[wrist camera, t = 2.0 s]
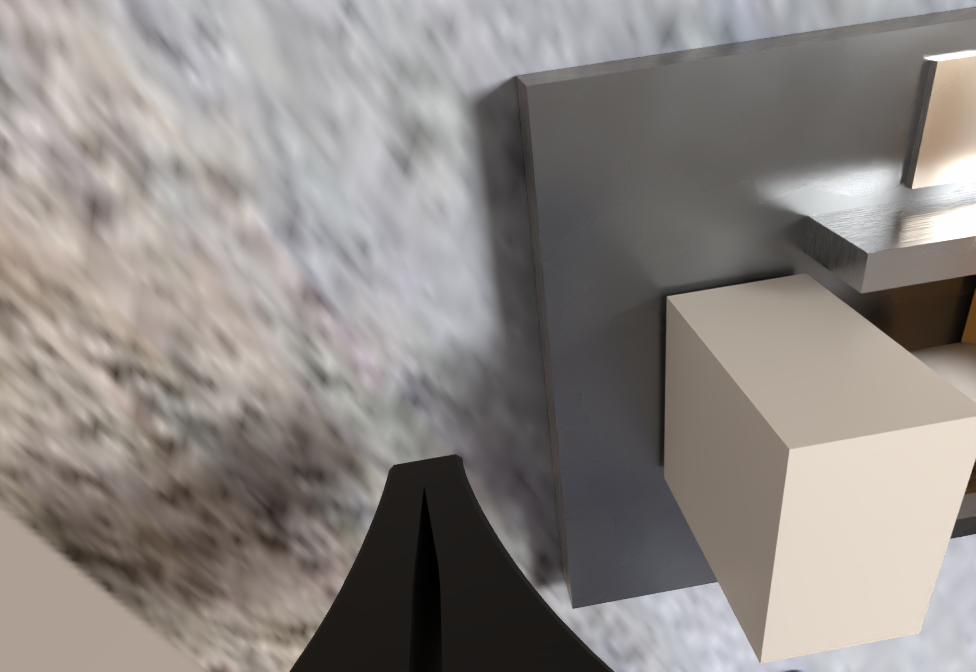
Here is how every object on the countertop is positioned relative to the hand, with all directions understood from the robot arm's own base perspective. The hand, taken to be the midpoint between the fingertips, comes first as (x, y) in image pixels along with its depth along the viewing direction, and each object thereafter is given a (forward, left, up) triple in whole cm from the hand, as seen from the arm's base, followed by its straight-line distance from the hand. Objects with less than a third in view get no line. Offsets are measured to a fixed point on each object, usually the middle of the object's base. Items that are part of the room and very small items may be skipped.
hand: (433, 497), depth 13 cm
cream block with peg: (0, -8, -2) cm, 9 cm away
